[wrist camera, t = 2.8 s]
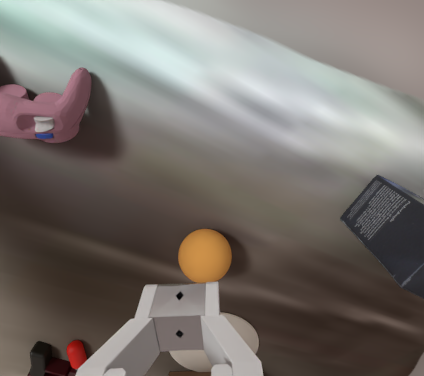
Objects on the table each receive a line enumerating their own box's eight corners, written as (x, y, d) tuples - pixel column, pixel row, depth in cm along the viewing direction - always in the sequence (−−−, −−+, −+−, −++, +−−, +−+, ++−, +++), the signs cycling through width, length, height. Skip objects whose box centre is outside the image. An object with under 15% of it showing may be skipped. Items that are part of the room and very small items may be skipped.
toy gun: (106, 385, 42) (94, 421, 38) (30, 364, 40) (7, 400, 36) (126, 349, 39) (115, 385, 34) (43, 324, 37) (20, 359, 32)
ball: (178, 220, 29) (172, 252, 24) (229, 217, 29) (233, 249, 24) (183, 260, 32) (178, 297, 26) (230, 258, 31) (234, 295, 26)
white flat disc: (162, 313, 35) (161, 314, 35) (259, 309, 35) (260, 310, 35) (173, 373, 41) (172, 375, 40) (257, 370, 40) (257, 372, 40)
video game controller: (-4, 87, 25) (-59, 135, 21) (-29, 36, 21) (-102, 81, 17) (101, 110, 26) (71, 160, 21) (94, 65, 22) (56, 113, 18)
